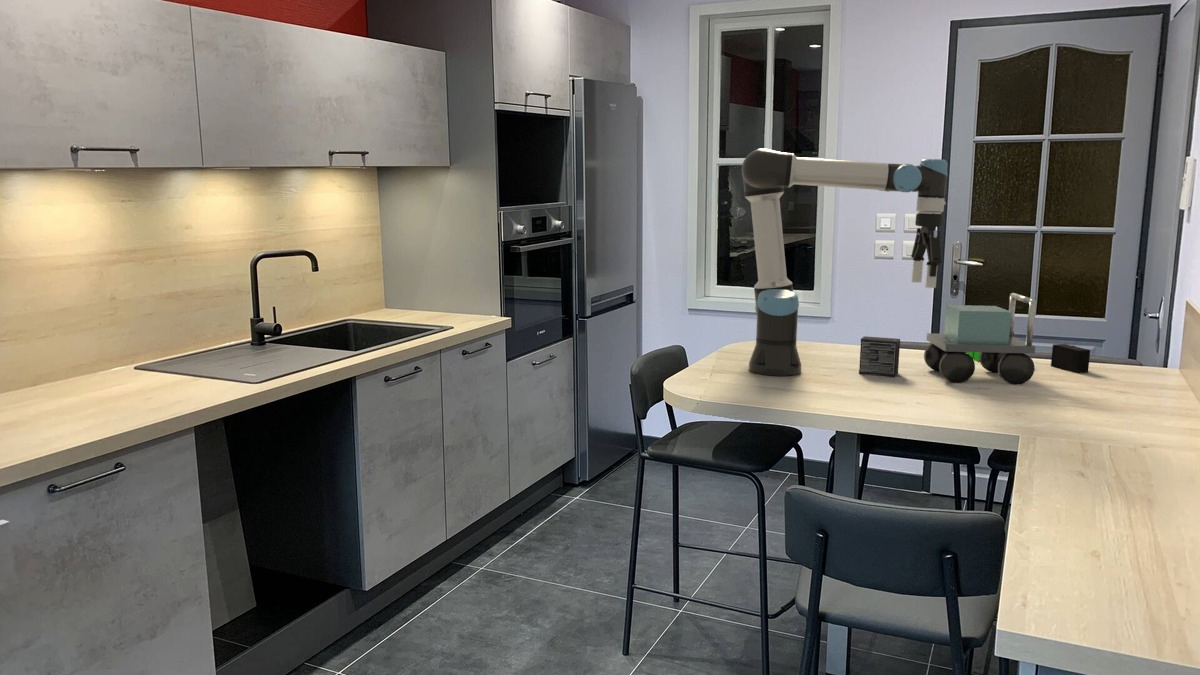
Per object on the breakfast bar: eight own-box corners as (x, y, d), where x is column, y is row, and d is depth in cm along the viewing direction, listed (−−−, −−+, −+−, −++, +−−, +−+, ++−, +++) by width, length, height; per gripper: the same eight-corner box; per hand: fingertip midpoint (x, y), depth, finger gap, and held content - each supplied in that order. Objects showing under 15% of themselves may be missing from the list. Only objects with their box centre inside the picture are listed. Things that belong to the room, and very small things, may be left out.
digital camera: (1091, 372, 262) (1094, 349, 260) (1076, 373, 260) (1079, 350, 259) (1065, 365, 272) (1067, 343, 270) (1050, 366, 270) (1052, 344, 269)
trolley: (940, 383, 246) (947, 298, 242) (922, 369, 264) (928, 290, 259) (1033, 385, 244) (1041, 300, 240) (1008, 371, 262) (1016, 292, 258)
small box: (898, 373, 258) (901, 338, 257) (896, 377, 253) (898, 341, 251) (861, 369, 263) (863, 335, 261) (858, 374, 257) (860, 338, 255)
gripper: (957, 214, 246) (950, 290, 250) (929, 211, 270) (923, 280, 274) (930, 214, 246) (923, 289, 250) (904, 211, 271) (898, 279, 274)
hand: (923, 285), depth 262 cm, fingers open, 13 cm apart
